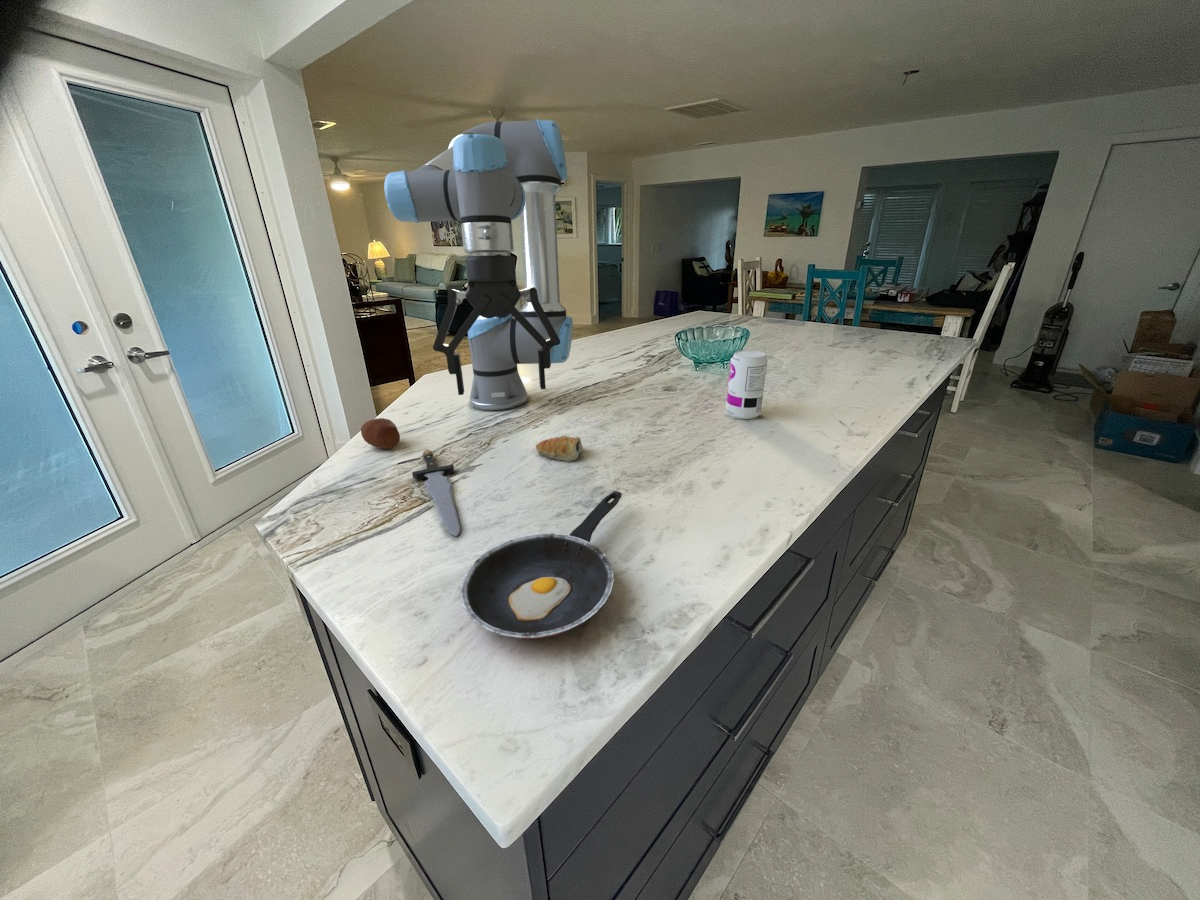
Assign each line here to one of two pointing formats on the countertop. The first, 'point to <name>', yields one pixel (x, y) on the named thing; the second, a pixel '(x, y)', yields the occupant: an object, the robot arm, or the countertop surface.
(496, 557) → the frying pan
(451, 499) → the dagger
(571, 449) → the pastry
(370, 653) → the countertop surface
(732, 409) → the supplement can
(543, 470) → the countertop surface
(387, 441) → the potato
